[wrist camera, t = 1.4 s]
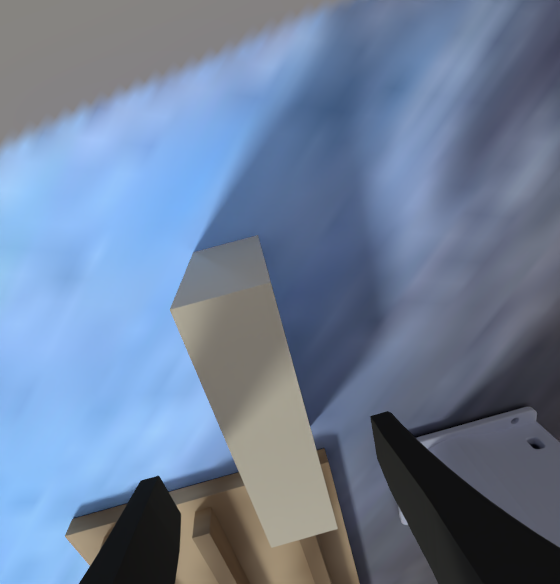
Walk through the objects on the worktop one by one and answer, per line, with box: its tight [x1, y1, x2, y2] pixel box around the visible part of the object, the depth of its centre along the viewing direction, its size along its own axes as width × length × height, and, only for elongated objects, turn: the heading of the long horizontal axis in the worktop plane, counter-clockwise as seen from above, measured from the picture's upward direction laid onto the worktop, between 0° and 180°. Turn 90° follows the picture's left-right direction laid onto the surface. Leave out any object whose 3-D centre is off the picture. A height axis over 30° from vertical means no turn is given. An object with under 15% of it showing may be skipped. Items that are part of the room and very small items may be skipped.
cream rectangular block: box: [170, 235, 338, 548], centre depth 15 cm, size 3×12×6 cm, turn 13°
